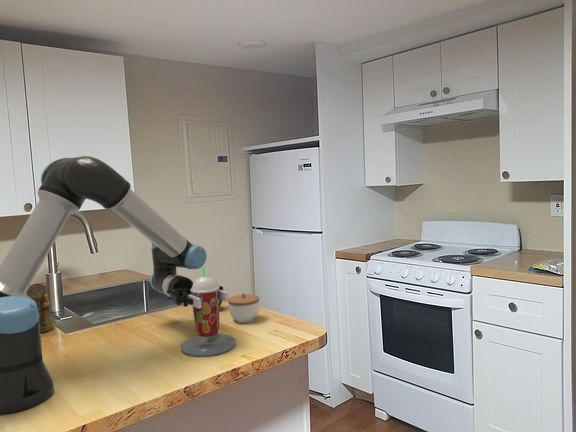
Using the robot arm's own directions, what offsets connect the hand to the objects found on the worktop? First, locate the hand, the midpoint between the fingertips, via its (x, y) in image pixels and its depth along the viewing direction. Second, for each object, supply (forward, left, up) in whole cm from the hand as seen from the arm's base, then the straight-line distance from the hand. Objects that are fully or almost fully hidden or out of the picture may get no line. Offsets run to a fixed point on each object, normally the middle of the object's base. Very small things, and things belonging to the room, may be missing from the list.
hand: (213, 300), depth 133 cm
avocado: (+42, +1, -15) cm, 45 cm away
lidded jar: (+26, -10, -15) cm, 32 cm away
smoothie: (+4, +2, -11) cm, 12 cm away
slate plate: (+4, +2, -15) cm, 16 cm away
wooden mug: (+34, +60, -15) cm, 71 cm away
